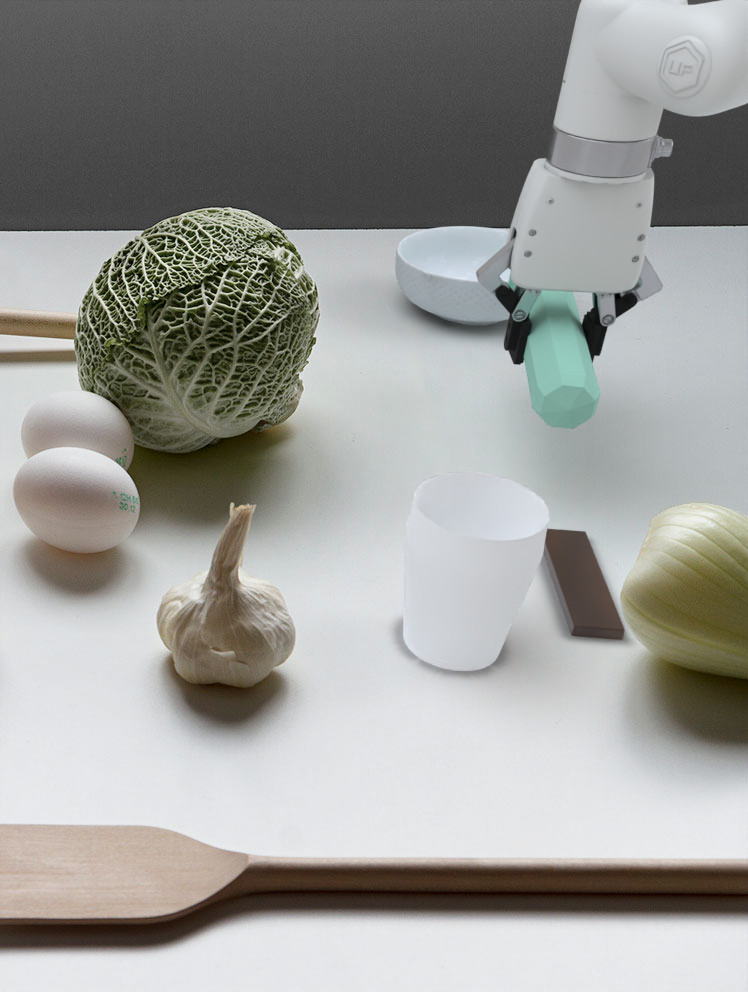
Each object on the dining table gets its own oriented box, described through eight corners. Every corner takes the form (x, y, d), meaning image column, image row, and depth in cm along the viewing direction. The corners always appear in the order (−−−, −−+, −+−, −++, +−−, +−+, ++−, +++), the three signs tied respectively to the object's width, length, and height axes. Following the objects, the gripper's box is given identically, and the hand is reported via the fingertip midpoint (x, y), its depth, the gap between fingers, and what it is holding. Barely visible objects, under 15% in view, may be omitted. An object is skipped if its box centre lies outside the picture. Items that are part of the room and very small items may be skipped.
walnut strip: (582, 543, 104) (585, 530, 104) (621, 643, 93) (625, 630, 93) (536, 539, 105) (540, 527, 104) (570, 639, 94) (574, 625, 93)
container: (602, 368, 98) (567, 244, 118) (520, 387, 100) (499, 262, 121) (616, 433, 101) (579, 301, 121) (536, 450, 103) (513, 318, 123)
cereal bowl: (481, 273, 152) (493, 215, 148) (582, 329, 138) (597, 267, 135) (357, 295, 147) (366, 236, 143) (449, 355, 133) (462, 291, 130)
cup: (401, 594, 99) (427, 459, 92) (525, 627, 95) (561, 488, 89) (372, 662, 92) (397, 521, 85) (504, 700, 88) (541, 555, 82)
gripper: (699, 141, 104) (641, 347, 114) (479, 133, 106) (441, 335, 116) (728, 171, 98) (664, 386, 107) (494, 162, 100) (452, 373, 110)
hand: (549, 357), depth 112 cm, fingers closed on container, 4 cm apart
